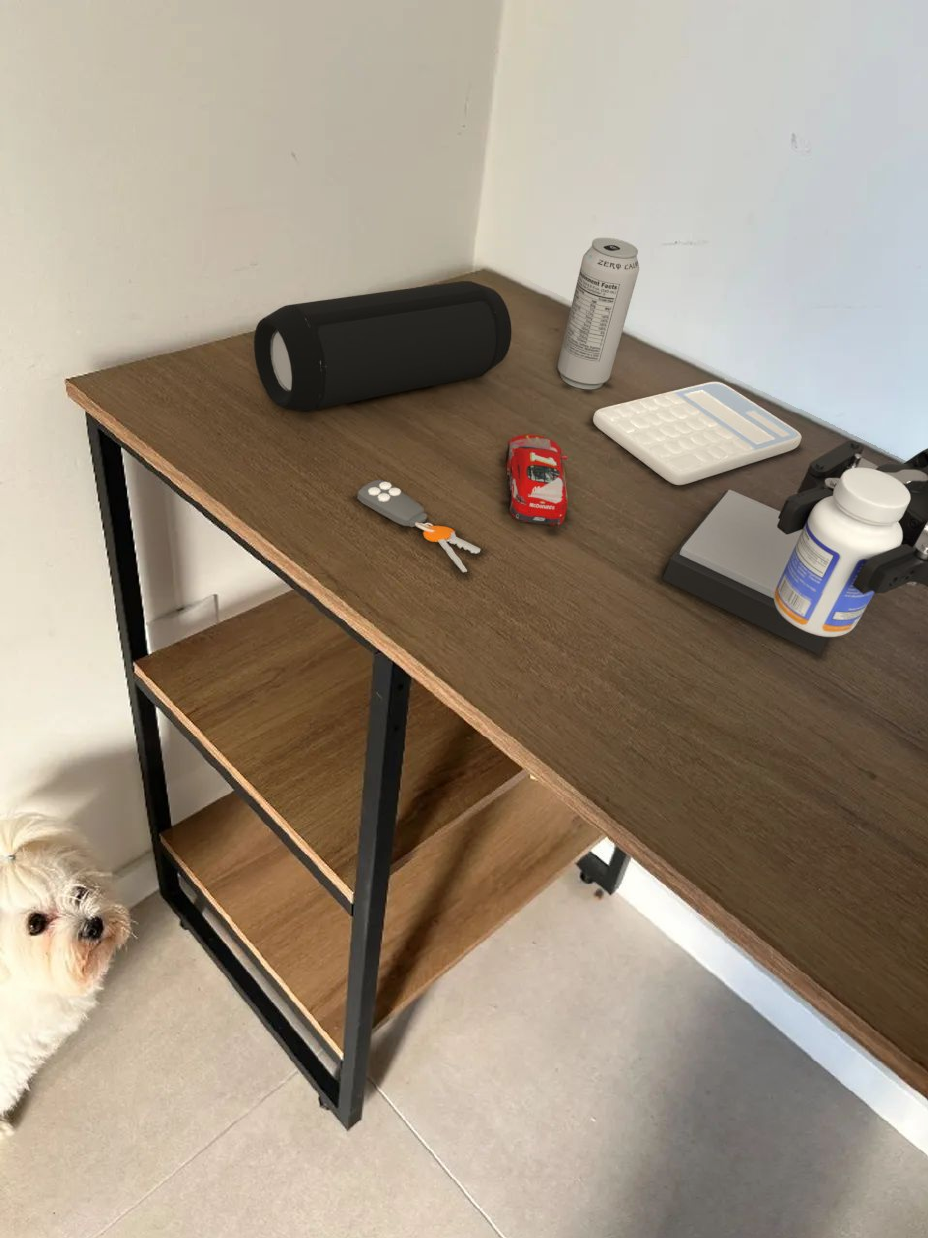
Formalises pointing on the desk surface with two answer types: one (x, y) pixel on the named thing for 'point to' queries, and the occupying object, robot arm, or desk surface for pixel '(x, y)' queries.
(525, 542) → the desk surface
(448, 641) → the desk surface
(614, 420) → the calculator
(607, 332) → the energy drink can
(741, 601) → the scale
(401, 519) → the key chain
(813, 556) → the pill bottle
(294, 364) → the portable speaker
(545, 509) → the race car
